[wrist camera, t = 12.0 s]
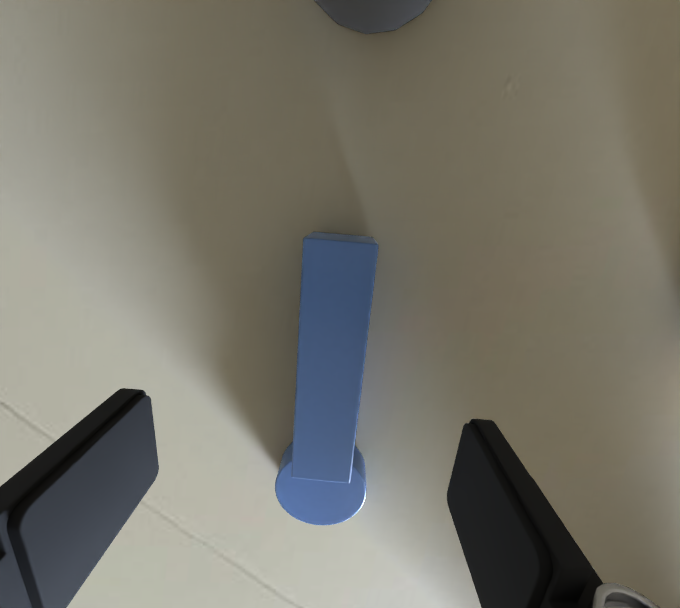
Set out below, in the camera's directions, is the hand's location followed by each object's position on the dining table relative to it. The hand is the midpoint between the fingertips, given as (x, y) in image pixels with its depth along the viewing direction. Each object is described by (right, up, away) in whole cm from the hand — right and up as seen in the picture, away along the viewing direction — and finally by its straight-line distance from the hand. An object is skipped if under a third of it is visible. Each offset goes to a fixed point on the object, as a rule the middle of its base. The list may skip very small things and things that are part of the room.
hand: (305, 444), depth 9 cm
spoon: (0, 0, +8) cm, 8 cm away
